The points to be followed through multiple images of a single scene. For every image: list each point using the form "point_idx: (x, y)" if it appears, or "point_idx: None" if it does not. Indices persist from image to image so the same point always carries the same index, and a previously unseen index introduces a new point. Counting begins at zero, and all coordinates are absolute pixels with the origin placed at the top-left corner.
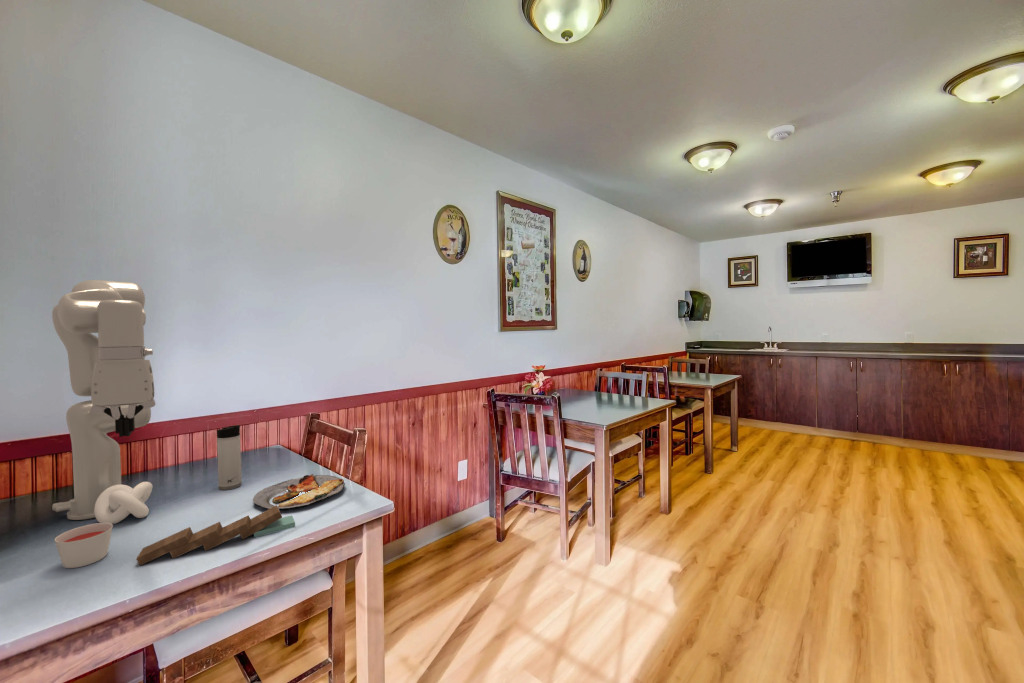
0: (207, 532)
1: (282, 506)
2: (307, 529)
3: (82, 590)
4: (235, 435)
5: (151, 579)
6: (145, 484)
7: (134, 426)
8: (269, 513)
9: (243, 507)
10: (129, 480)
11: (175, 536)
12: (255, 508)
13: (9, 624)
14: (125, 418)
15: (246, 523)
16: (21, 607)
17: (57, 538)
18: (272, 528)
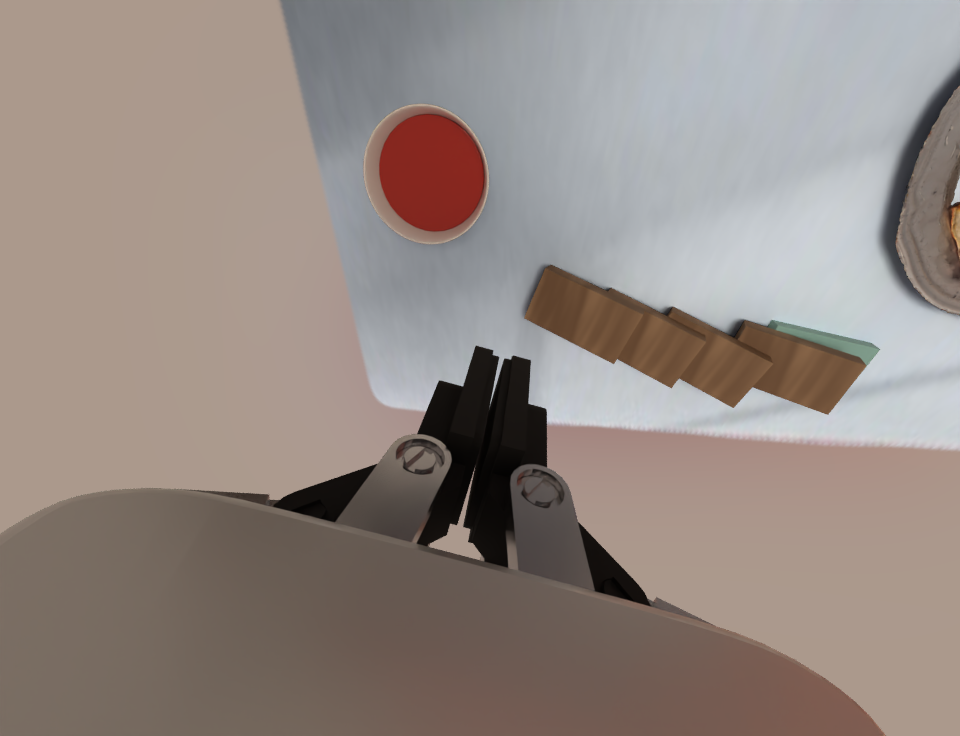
0: (659, 365)
1: (949, 231)
2: (835, 422)
3: (443, 335)
4: None
5: (535, 386)
6: None
7: (544, 426)
8: (815, 385)
9: (899, 86)
10: None
11: (603, 324)
12: (908, 144)
13: (366, 365)
14: (476, 489)
15: (736, 403)
16: (368, 320)
17: (368, 158)
18: None
